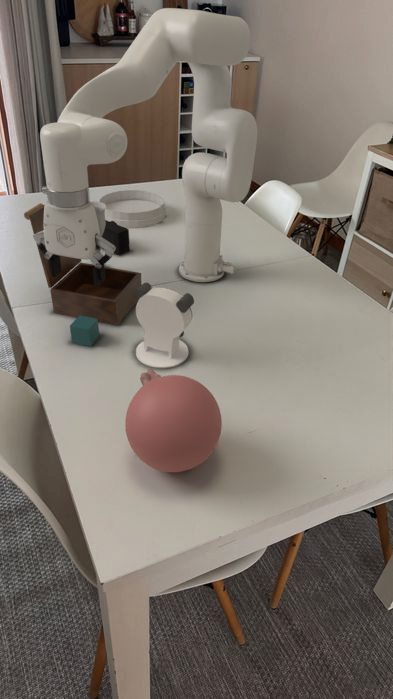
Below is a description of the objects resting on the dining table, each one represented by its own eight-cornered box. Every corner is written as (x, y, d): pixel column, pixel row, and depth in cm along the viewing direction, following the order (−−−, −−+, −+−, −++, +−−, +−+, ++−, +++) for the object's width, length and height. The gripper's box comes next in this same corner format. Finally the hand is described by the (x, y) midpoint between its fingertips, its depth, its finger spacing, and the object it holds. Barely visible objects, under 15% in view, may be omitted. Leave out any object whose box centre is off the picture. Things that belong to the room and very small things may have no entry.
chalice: (105, 277, 136) (100, 213, 126) (81, 274, 137) (74, 210, 127) (114, 265, 142) (110, 203, 132) (91, 263, 143) (85, 200, 133)
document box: (141, 294, 130) (141, 272, 126) (117, 325, 118) (115, 302, 114) (83, 284, 133) (80, 262, 129) (53, 312, 121) (50, 289, 118)
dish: (163, 229, 164) (162, 214, 161) (94, 226, 164) (93, 211, 161) (167, 204, 182) (166, 191, 179) (105, 202, 182) (104, 188, 179)
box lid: (66, 192, 119) (46, 192, 121) (31, 214, 108) (9, 214, 109) (81, 260, 129) (63, 259, 131) (51, 288, 117) (31, 286, 119)
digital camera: (133, 250, 151) (132, 227, 147) (119, 255, 147) (118, 233, 143) (109, 240, 156) (107, 218, 152) (95, 245, 153) (94, 223, 149)
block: (99, 335, 114) (98, 318, 112) (90, 346, 111) (88, 329, 108) (81, 331, 115) (79, 315, 112) (71, 342, 112) (69, 325, 109)
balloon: (192, 400, 97) (195, 334, 88) (232, 479, 82) (240, 409, 73) (113, 417, 93) (107, 349, 84) (140, 503, 78) (136, 432, 69)
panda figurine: (199, 346, 112) (202, 286, 103) (177, 374, 104) (178, 312, 95) (151, 332, 116) (150, 273, 107) (126, 359, 107) (122, 297, 99)
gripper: (16, 196, 93) (30, 279, 103) (102, 209, 89) (108, 294, 99) (38, 184, 99) (49, 264, 109) (120, 196, 95) (124, 278, 105)
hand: (77, 278), depth 104 cm, fingers open, 9 cm apart
